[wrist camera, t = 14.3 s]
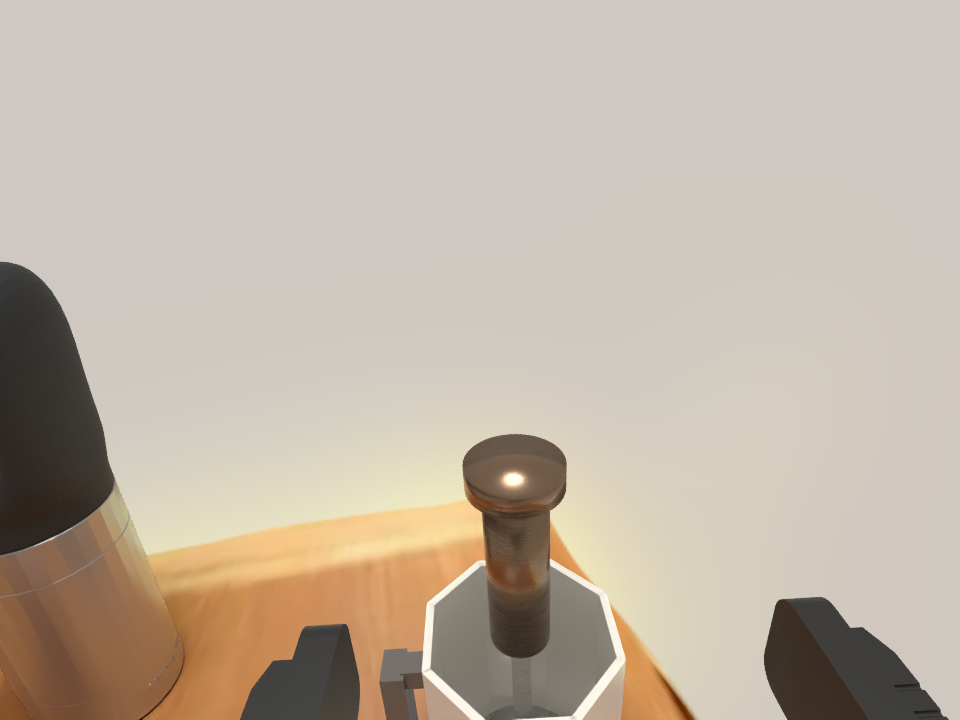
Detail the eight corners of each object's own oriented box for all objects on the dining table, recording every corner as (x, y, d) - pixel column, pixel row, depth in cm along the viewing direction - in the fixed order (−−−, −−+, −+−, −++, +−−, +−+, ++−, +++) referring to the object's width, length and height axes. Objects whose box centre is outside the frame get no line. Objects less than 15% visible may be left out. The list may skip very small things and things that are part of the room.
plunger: (459, 863, 29) (414, 531, 19) (460, 715, 36) (428, 420, 27) (605, 854, 29) (631, 518, 20) (578, 708, 36) (586, 411, 27)
